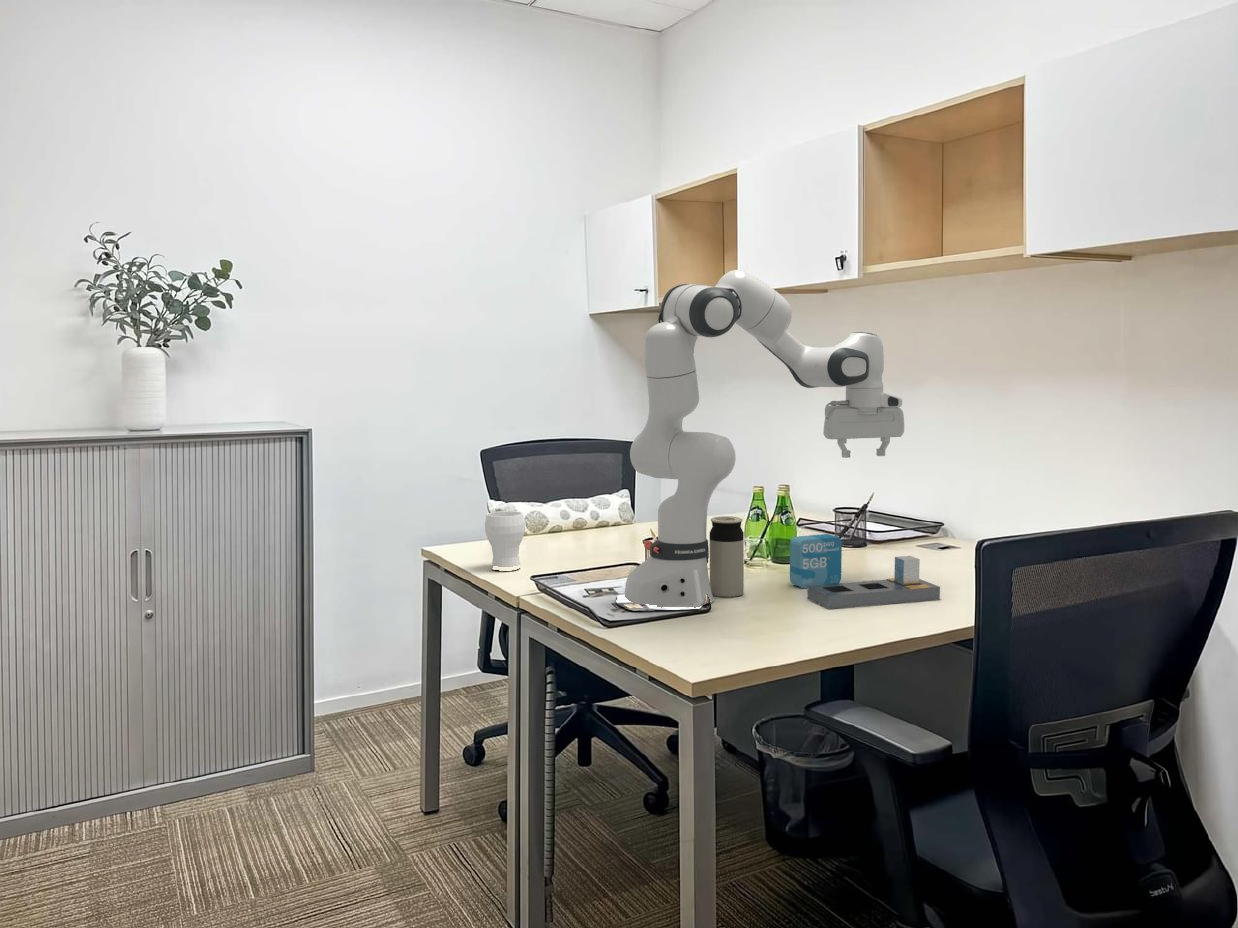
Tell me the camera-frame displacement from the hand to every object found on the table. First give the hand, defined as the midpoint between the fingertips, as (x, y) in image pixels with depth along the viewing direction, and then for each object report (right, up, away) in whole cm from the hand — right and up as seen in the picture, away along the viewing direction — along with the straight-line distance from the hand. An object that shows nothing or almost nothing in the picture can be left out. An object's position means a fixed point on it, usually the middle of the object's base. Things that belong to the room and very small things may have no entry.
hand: (863, 456), depth 231 cm
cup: (-90, -30, +24) cm, 98 cm away
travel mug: (-34, -33, -7) cm, 48 cm away
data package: (-12, -32, +1) cm, 34 cm away
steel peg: (+7, -32, -11) cm, 35 cm away
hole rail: (-1, -33, -14) cm, 35 cm away
